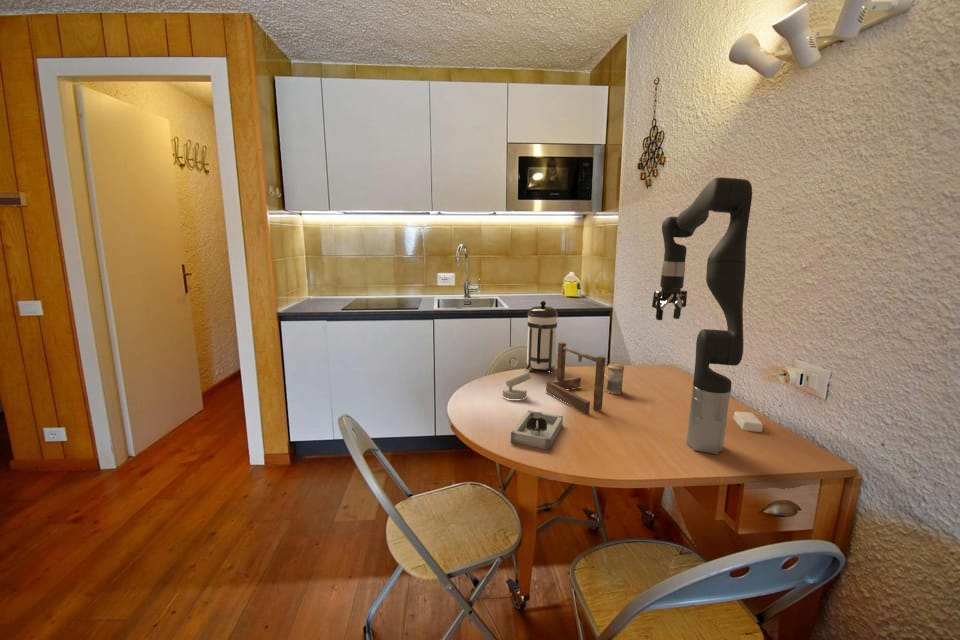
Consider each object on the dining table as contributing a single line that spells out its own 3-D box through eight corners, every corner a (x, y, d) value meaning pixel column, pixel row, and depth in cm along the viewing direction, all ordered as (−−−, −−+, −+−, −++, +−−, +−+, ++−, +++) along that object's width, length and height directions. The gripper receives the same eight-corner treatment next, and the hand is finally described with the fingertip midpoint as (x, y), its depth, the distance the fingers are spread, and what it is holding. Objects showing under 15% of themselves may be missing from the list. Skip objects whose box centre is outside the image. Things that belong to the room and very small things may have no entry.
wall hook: (533, 374, 153) (504, 374, 152) (532, 400, 154) (503, 400, 154) (529, 367, 161) (502, 367, 161) (528, 392, 163) (501, 392, 162)
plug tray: (548, 449, 119) (549, 439, 119) (510, 441, 124) (511, 432, 123) (562, 425, 135) (562, 416, 134) (527, 419, 139) (528, 410, 138)
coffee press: (514, 366, 193) (516, 299, 187) (544, 362, 200) (547, 297, 194) (537, 378, 178) (540, 305, 172) (568, 373, 185) (572, 303, 179)
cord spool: (621, 395, 161) (623, 369, 159) (605, 393, 163) (607, 367, 161) (622, 390, 166) (624, 365, 164) (607, 388, 168) (609, 363, 166)
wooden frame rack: (576, 386, 169) (579, 340, 166) (619, 406, 150) (623, 354, 146) (545, 392, 163) (547, 344, 159) (585, 414, 143) (589, 360, 140)
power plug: (545, 419, 135) (547, 410, 124) (544, 444, 132) (547, 438, 121) (526, 418, 135) (527, 409, 124) (525, 443, 132) (526, 436, 121)
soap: (732, 419, 142) (734, 410, 141) (751, 421, 141) (752, 412, 140) (742, 431, 133) (744, 422, 133) (762, 433, 132) (764, 423, 132)
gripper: (678, 273, 162) (673, 316, 165) (649, 273, 156) (645, 318, 159) (695, 275, 155) (690, 320, 158) (666, 275, 149) (661, 322, 152)
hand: (667, 319), depth 158 cm, fingers open, 8 cm apart
